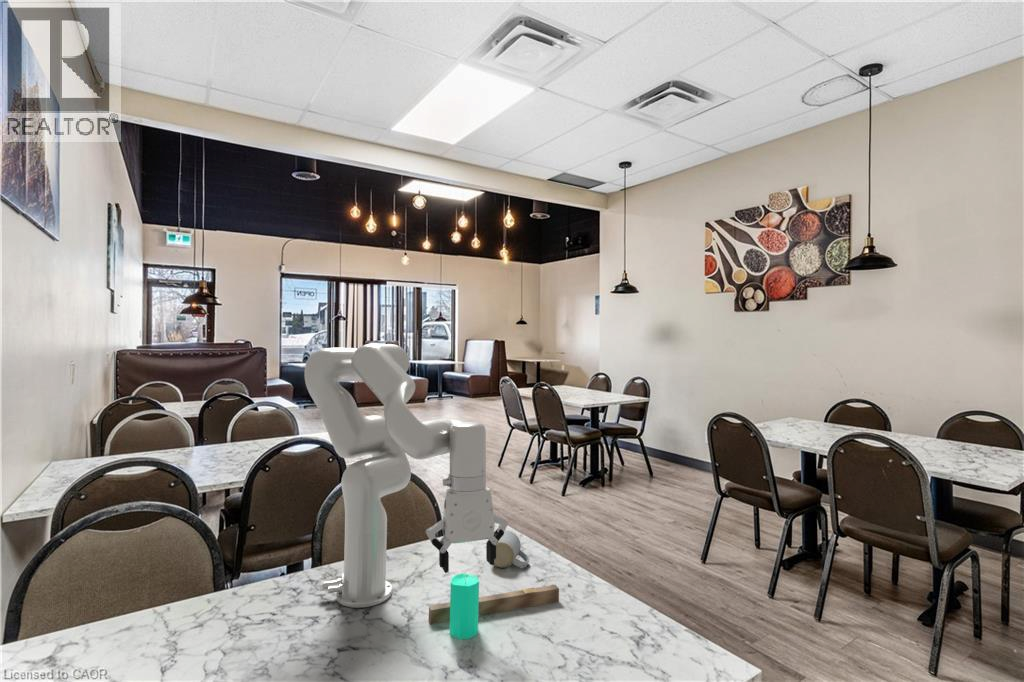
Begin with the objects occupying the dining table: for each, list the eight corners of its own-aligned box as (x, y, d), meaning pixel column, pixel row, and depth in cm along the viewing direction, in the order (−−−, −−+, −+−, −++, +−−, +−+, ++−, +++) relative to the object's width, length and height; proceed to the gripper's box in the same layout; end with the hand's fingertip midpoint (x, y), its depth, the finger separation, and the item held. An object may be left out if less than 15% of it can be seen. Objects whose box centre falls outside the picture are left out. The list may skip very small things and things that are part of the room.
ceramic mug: (486, 568, 133) (487, 539, 133) (494, 555, 141) (495, 528, 141) (526, 573, 130) (527, 543, 131) (531, 560, 138) (532, 532, 139)
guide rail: (430, 624, 105) (430, 609, 105) (428, 619, 107) (429, 604, 107) (558, 601, 115) (559, 587, 116) (555, 597, 117) (555, 583, 117)
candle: (473, 641, 99) (475, 580, 99) (445, 637, 100) (446, 576, 101) (481, 625, 105) (483, 567, 105) (454, 621, 106) (455, 564, 106)
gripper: (430, 491, 97) (430, 581, 96) (513, 482, 103) (513, 567, 102) (422, 482, 104) (422, 566, 103) (501, 475, 110) (501, 553, 109)
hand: (468, 566), depth 103 cm, fingers open, 9 cm apart
